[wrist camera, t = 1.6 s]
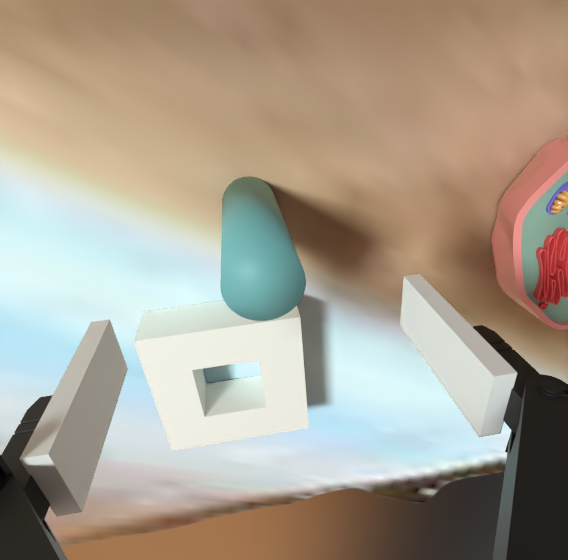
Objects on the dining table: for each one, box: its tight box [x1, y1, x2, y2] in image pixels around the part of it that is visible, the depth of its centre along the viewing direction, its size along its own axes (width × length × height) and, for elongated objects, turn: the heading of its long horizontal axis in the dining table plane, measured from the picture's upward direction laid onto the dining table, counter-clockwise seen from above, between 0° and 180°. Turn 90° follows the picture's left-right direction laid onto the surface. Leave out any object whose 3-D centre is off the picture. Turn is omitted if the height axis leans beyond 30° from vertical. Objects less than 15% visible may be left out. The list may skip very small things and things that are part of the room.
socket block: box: [134, 300, 309, 451], centre depth 37 cm, size 14×14×4 cm
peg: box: [221, 177, 306, 321], centre depth 26 cm, size 4×4×14 cm
